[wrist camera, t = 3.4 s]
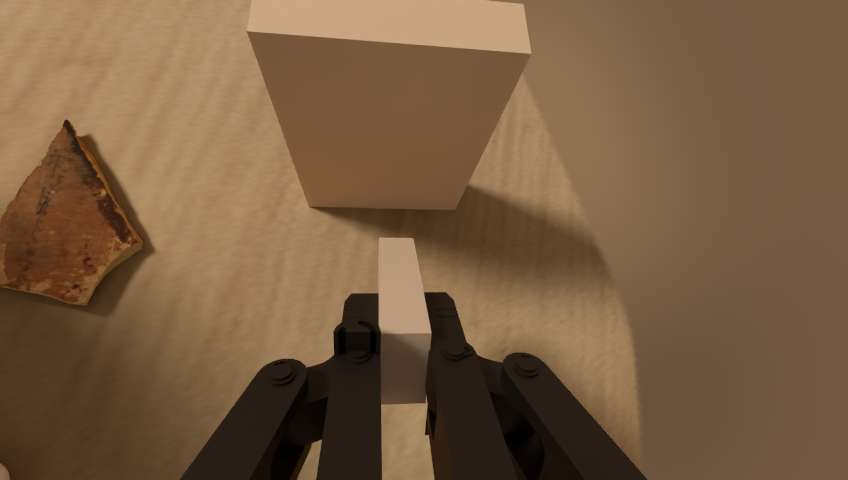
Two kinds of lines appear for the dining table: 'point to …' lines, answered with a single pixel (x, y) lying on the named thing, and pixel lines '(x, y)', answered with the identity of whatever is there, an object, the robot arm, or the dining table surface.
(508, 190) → the dining table surface
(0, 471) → the dumpling
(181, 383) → the dining table surface
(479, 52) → the glazed tile
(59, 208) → the shard
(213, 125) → the dining table surface
